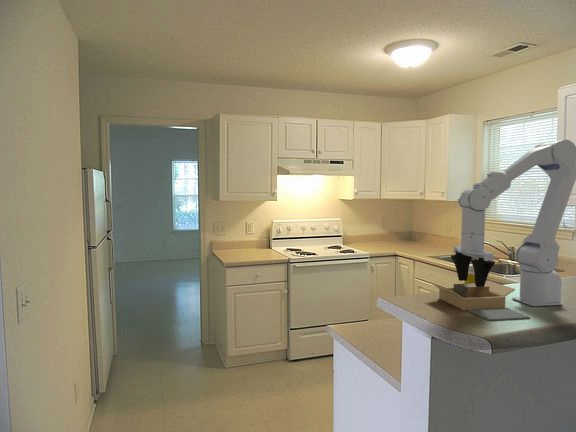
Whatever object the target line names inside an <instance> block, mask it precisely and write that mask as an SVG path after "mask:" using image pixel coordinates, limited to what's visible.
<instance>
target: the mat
mask: <svg viewBox="0 0 576 432" xmlns="http://www.w3.org/2000/svg"><path fill="white" fill-rule="evenodd" d="M467 311H468V313H471V314H473V315H475V316H477V317H480V318H481V319H484V320H486V321H487V322H493V321H494V322H495V321H512V320H531V317H530V316H528V315H526V314H523V313H521V312H518V311H517V310H516V311H515V310H513V309H510V308H509V307H505V308H495V309H474V310H467Z"/></svg>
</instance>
